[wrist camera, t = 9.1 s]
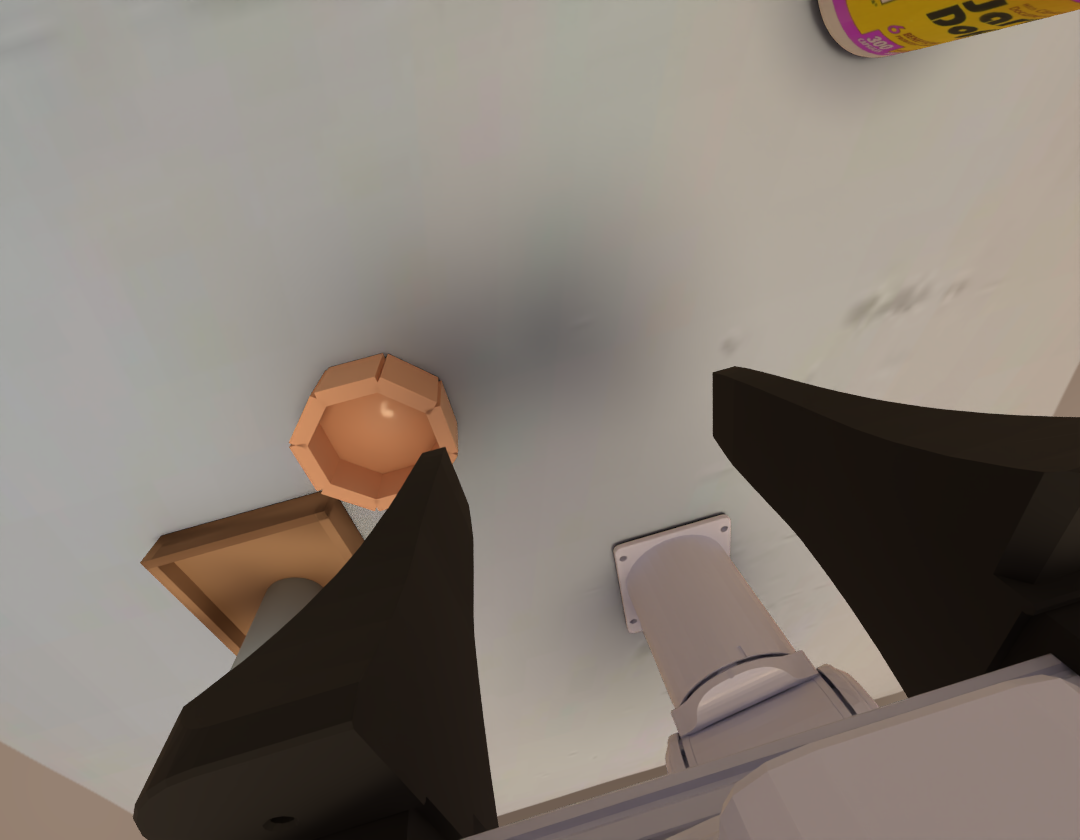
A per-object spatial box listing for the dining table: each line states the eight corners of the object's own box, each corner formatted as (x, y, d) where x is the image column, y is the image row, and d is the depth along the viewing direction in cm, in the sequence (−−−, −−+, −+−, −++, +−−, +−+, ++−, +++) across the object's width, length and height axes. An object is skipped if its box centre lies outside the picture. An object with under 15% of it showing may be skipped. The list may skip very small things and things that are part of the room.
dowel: (336, 608, 26) (291, 766, 19) (281, 621, 26) (215, 785, 19) (313, 572, 24) (256, 730, 18) (255, 585, 24) (173, 750, 17)
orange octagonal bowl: (469, 455, 24) (471, 485, 21) (347, 488, 23) (337, 522, 21) (426, 341, 20) (424, 363, 18) (284, 379, 20) (263, 406, 18)
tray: (414, 622, 29) (411, 648, 28) (280, 661, 29) (271, 689, 27) (332, 488, 23) (324, 511, 22) (161, 535, 23) (140, 562, 21)
